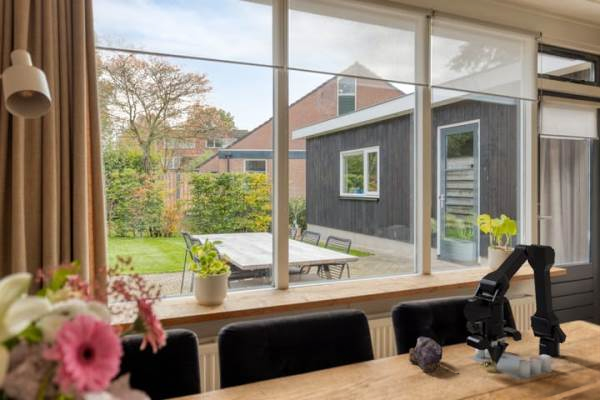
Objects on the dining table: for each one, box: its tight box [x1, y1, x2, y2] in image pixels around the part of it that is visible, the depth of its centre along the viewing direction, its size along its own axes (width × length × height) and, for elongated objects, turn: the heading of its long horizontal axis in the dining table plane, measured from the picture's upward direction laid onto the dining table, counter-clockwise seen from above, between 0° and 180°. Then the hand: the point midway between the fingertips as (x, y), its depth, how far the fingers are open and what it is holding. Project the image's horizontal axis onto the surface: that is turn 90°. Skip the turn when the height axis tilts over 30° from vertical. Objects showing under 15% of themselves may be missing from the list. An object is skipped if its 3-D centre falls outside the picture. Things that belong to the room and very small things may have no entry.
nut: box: [479, 359, 498, 373], centre depth 136 cm, size 4×5×2 cm
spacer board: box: [468, 348, 555, 381], centre depth 140 cm, size 16×20×5 cm
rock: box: [408, 336, 443, 373], centre depth 141 cm, size 12×9×10 cm
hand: (494, 364), depth 137 cm, fingers closed
